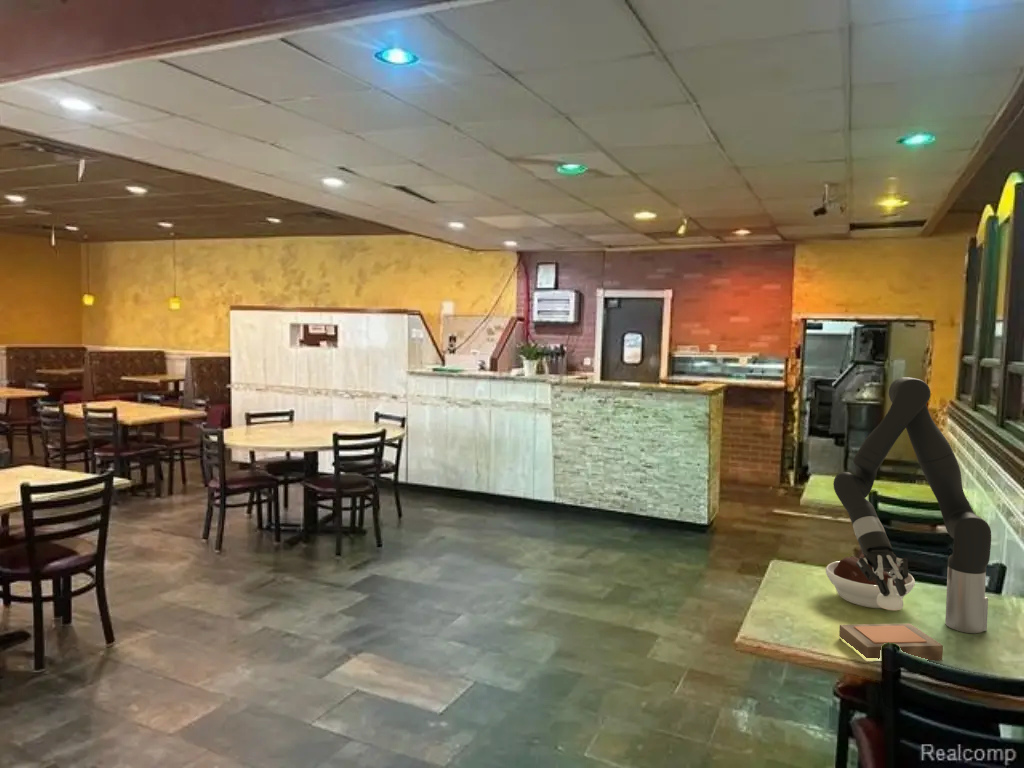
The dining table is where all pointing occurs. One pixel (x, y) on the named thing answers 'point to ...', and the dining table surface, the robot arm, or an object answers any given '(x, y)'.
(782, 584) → the dining table surface
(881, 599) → the garlic bulb
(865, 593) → the bowl of brown food
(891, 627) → the mat
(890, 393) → the robot arm
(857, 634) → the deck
